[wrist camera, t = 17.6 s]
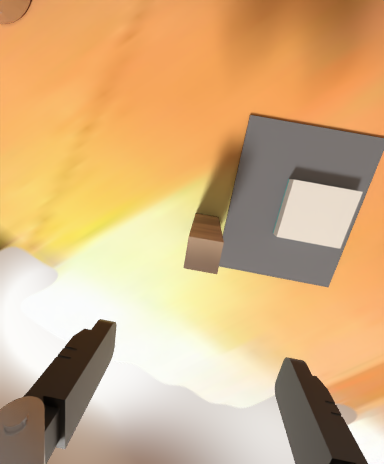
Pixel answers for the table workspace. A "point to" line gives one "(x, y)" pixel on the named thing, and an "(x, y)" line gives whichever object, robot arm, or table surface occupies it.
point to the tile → (316, 213)
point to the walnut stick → (204, 244)
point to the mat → (273, 188)
